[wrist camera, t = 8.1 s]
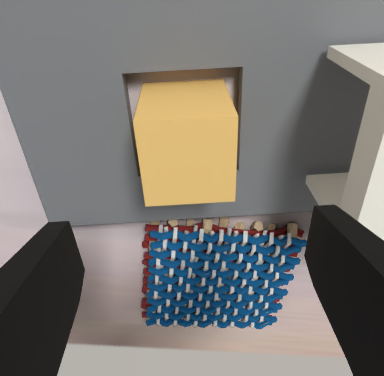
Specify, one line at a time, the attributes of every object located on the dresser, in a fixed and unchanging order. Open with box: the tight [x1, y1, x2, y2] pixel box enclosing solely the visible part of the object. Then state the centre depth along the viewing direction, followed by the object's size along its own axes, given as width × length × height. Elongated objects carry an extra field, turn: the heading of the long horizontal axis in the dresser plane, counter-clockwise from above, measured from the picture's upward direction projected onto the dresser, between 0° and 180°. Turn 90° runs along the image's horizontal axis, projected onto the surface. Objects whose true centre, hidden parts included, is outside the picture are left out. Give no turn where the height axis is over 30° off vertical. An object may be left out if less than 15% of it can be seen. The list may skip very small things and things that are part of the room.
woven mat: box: [141, 217, 307, 329], centre depth 24 cm, size 10×11×2 cm
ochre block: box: [133, 79, 238, 207], centre depth 16 cm, size 4×4×5 cm
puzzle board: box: [0, 0, 384, 226], centre depth 18 cm, size 18×12×1 cm, turn 93°
